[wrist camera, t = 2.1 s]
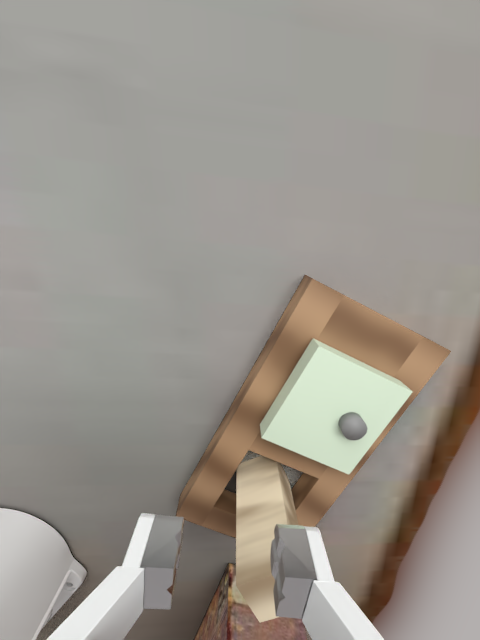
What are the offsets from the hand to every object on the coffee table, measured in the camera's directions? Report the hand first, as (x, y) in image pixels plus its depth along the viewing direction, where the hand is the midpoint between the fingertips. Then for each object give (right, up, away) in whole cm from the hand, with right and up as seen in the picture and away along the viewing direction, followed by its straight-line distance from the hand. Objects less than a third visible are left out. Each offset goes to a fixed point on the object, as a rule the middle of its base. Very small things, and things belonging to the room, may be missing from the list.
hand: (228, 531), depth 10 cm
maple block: (+3, -9, +21) cm, 23 cm away
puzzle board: (+6, -3, +19) cm, 20 cm away
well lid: (+8, 0, +15) cm, 17 cm away
